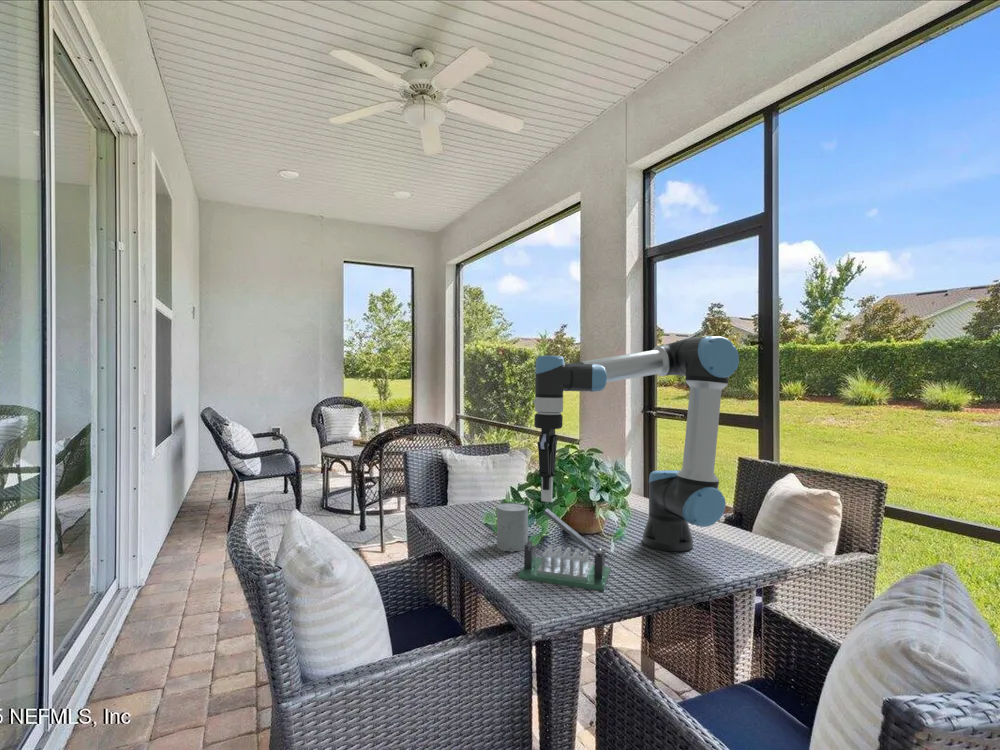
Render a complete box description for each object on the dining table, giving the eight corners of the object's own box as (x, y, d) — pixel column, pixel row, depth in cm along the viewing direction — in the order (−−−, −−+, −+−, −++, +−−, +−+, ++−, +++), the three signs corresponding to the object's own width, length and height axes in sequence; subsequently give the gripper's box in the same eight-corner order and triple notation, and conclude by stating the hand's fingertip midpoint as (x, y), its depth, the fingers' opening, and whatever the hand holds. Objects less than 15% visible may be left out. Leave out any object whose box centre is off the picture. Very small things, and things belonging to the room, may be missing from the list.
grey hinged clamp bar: (599, 554, 137) (603, 548, 136) (597, 558, 134) (602, 553, 133) (545, 509, 141) (549, 504, 141) (542, 513, 138) (546, 507, 138)
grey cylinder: (504, 539, 166) (505, 501, 166) (532, 544, 162) (532, 505, 162) (491, 549, 157) (491, 508, 157) (520, 554, 153) (520, 512, 153)
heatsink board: (610, 571, 140) (610, 545, 140) (603, 591, 128) (604, 562, 128) (532, 561, 148) (532, 535, 148) (518, 578, 135) (518, 550, 135)
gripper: (541, 410, 147) (539, 494, 147) (528, 414, 134) (526, 505, 134) (567, 412, 144) (565, 496, 144) (556, 415, 132) (554, 508, 132)
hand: (546, 500), depth 139 cm, fingers closed
